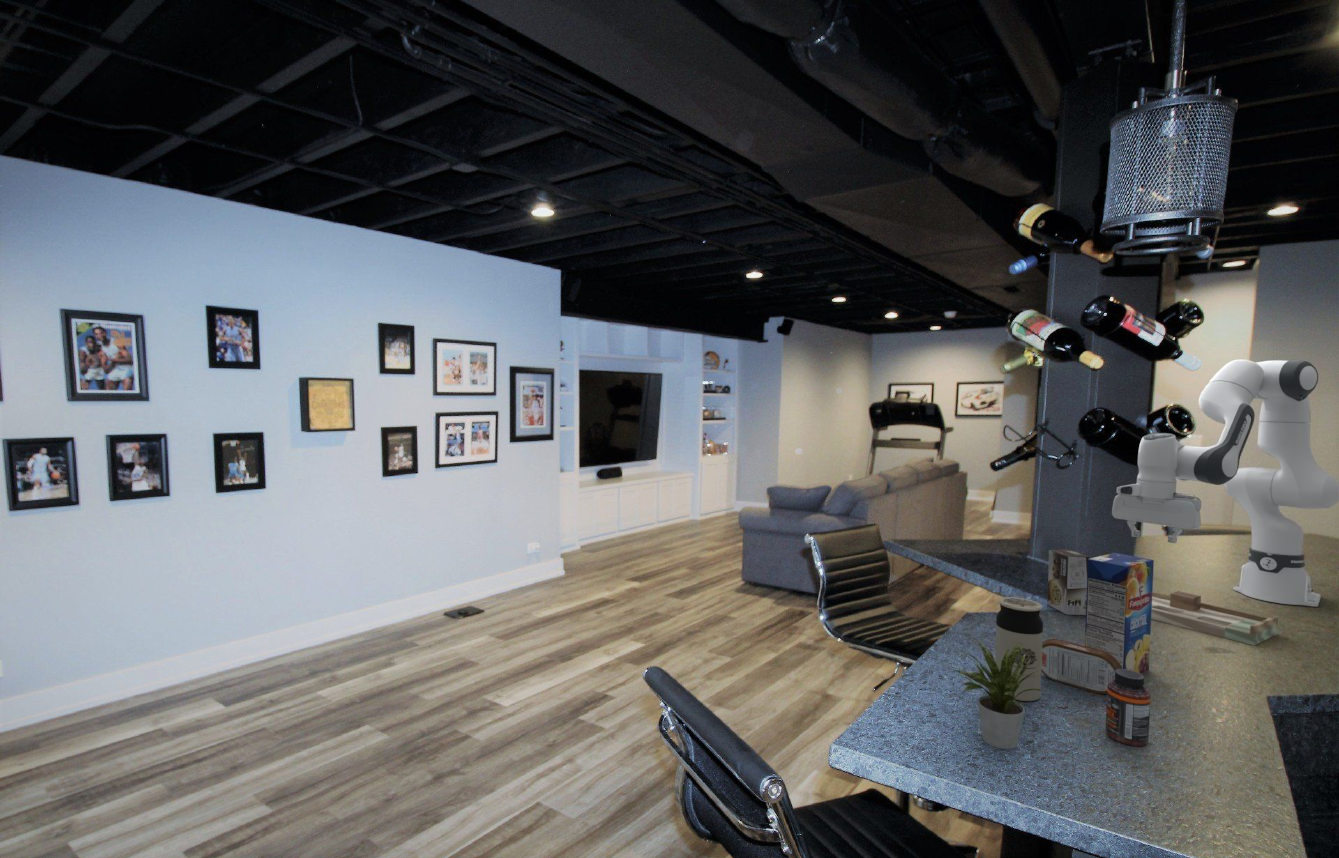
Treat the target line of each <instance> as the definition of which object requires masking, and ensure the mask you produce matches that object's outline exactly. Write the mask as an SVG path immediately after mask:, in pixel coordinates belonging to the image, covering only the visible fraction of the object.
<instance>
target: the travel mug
mask: <svg viewBox="0 0 1339 858" xmlns="http://www.w3.org/2000/svg"><path fill="white" fill-rule="evenodd" d="M998 603H999V606H1000V610H999V611H998V612H997V614H996V616H995V617H996V621H995V623H996V625H995V646H994V647H995V648H994V649H995V650H994V661H995V662H996V664H997V666H998V668H999V671H1000V668H1001V662H1002V659H1003V657H1004V655H1005V653H1006V651H1007V650H1008V649H1009V654H1008V656H1009V655H1010V653H1011V652H1012V650H1013V649H1014V648H1015V647H1016V646H1017V645H1019V644H1021V643H1022V646H1021V647H1020V649H1021V650H1020V651H1019V653H1018V655H1017V657H1016V659H1015V662H1014V664H1013V668H1012V673H1011V676H1012V675H1013V673H1014V671H1015V669H1016V667H1017V666H1018V664H1019V662H1020V660H1021V658H1022V657H1023V655H1024V654H1025V653H1026V655H1025V658H1024V661H1023V664H1022V666H1021V667H1020V669H1019V671H1018V673H1017V674H1019V673H1020V672H1021V670H1022V668H1023V667H1024V665H1025V664H1026V663H1027V662H1028V661H1029V660H1030V659H1031V660H1030V662H1029V664H1028V666H1027V668H1026V670H1025V671H1024V673H1023V674H1022V676H1021V677H1020V679H1019V680H1018V682H1019V681H1020V680H1021V679H1023V678H1024V677H1026V676H1027V675H1029V674H1030V673H1033V672H1035V673H1033V674H1031V675H1030V676H1029V677H1028V678H1026V679H1025V680H1023V681H1022V682H1021V683H1020V685H1019V688H1018V689H1017V690H1016V691H1015V693H1014V698H1015V697H1016V696H1017V695H1018V694H1019V693H1020V692H1022V691H1024V690H1027V689H1034V688H1035V689H1040V690H1042V689H1041V688H1042V672H1041V666H1042V642H1043V636H1044V635H1043V634H1044V622H1043V620H1042V618H1041V616H1040V613H1041V610H1042V609H1043V605H1042V604H1041V603H1039V602H1037V601H1034V600H1031V599H1027V598H1023V597H1015V596H1013V597H1012V596H1006V597H1001V598H999V599H998ZM1038 670H1039V671H1038ZM1036 671H1037V672H1036ZM1018 682H1017V683H1018ZM1041 693H1042V692H1041V691H1038V690H1030V691H1025V692H1023V693H1021V694H1019V695H1018V696H1017V697H1016V698H1015V699H1014V701H1020V702H1032V701H1037V700H1040V698H1041Z"/></svg>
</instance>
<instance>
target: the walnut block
mask: <svg viewBox="0 0 1339 858" xmlns="http://www.w3.org/2000/svg"><path fill="white" fill-rule="evenodd" d="M1201 601H1202V596H1201V595H1199V594H1194V593H1189V592H1185V591H1180V590H1178V591H1173V592H1171V593H1170V606H1171V607H1175V608H1180V609H1184V610H1188V611H1195V610H1198V609H1200V607H1201V603H1202V602H1201Z"/></svg>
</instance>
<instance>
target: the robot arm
mask: <svg viewBox="0 0 1339 858" xmlns="http://www.w3.org/2000/svg"><path fill="white" fill-rule="evenodd" d="M1318 382H1319V372H1318V370H1317V368H1316V367H1315V366H1314V365H1313V364H1312V363H1311V362H1309V361H1306V360H1302V359H1300V360H1299V359H1290V360H1281V359H1279V360H1275V359H1274V360H1264V361H1258V362H1256V361H1253V360H1249V359H1244V358H1243V359H1241V358H1240V359H1234V360H1231V361H1229V362H1228V363H1226V364H1224V366H1222V367H1221V368H1220V369H1219V370H1218V371H1217V372H1216V373H1215V374H1214V376H1213V377H1212V378H1210V380H1209V381H1208V383H1207V385H1205V387H1204V388H1203V390H1202V391H1201V393H1200V394H1199V398H1198V405H1199V409H1200V410H1201V411H1202V413H1203V414H1204V415H1206V416H1207V417H1208V418H1209V419H1210V420H1212V421H1215V422H1216V423H1220V424H1223V425H1224V428H1223V430H1222V432H1221V435H1220V436H1219V438H1218V439H1219V440H1218V441H1217V443H1215V444H1214V445H1210V446H1194V445H1185V444H1184V443H1181V442H1180V441H1178V440H1177V437H1176V435H1175V434H1173V433H1169V432H1168V433H1167V432H1161V433H1160V432H1157V433H1148V434H1146V435H1144V436H1142V438H1141V440H1140V443H1139V447H1138V452H1137V453H1138V454H1137V466H1138V473H1137V477H1136V483H1130V484H1125V485H1120V486H1118V487H1116V494H1117V495H1115V497H1114V499H1113V502H1112V508H1111V515H1112V516H1113V518H1114V519H1119V520H1126V522H1127V524H1126V525H1127V526H1128V528H1129V529H1130V531H1131V533H1130V534H1131V537H1132V538H1133V537H1134V538H1140V537H1141V530H1138V529H1137V527H1136V525H1137V522H1138V523H1145V524H1152V525H1160V526H1164V527H1165V526H1166V527H1172V531H1173V534H1172V535H1167V543H1170V544H1177V542H1178V537H1179V536H1180V535H1181V533H1182V532H1183V529H1186V530H1197V529H1199V528H1200V527H1201V525H1202V521H1201V519H1202V518H1201V509H1202V500H1201V499H1200V498H1198V496H1196V495H1194V494H1185V493H1178V492H1177V479H1178V480H1179V479H1180V480H1185V481H1192V482H1201V483H1205V484H1210V485H1216V486H1220V485H1223V487H1224V489H1225V493H1226V494H1227V495H1228V496H1229V497H1230V498H1232V499H1233V500H1234V501H1235V502H1237V503H1238V504H1239V505H1240V506H1241V508H1243V510H1244V511H1245V513H1246V515H1247V517H1248V520H1249V524H1250V529H1251V530H1250V531H1251V532H1250V535H1251V543H1250V545H1251V547H1250V548H1249V549H1248V562H1246V563H1244V564H1243V565H1242V566H1241V572H1240V579H1239V585H1236V586H1233V589H1232V590H1233V591H1236V592H1239V593H1241V594H1242V595H1245V596H1247V597H1249V598H1252V599H1256V600H1260V601H1266V602H1270V603H1277V604H1283V605H1293V606H1305V607H1319V604H1320V601H1321V593H1318V592H1313V591H1314V589H1313V588H1311V587H1312V586H1311V585H1312V582H1311V581H1312V578H1311V576H1310V575H1309V572H1308V571H1307V570H1306V569H1305V566H1306V564H1305V562H1306V553H1303V547H1304V530H1303V528H1302V526H1301V525H1299V523H1297V522H1296V521H1294V520H1293V519H1291V518H1288V517H1286V516H1285V515H1284V514H1283V513H1282V512H1281V510H1280V508H1279V507H1288V508H1298V509H1307V510H1309V509H1311V510H1313V509H1315V510H1317V509H1320V510H1321V509H1330V508H1332V507H1333V506H1335V505H1336V504H1337V503H1338V502H1339V481H1338V480H1337V478H1335V476H1333V475H1331V474H1330V473H1328V472H1327V471H1326V470H1324V469H1323V468H1322V467H1321V466H1320V465H1319V464H1318V462H1317V461H1316V459H1315V458H1314V456H1313V452H1312V450H1311V449H1312V448H1311V421H1312V420H1311V419H1312V417H1311V415H1312V414H1311V413H1312V412H1311V403H1310V396H1309V395H1310V394H1312V392H1313V391H1314V390H1315V389H1316V387H1317V385H1318ZM1254 399H1256V400H1257V399H1259V400H1262V402H1261V404H1260V406H1261V407H1260V411H1259V417H1258V429H1257V442H1256V443H1257V446H1258V448H1259V450H1260V451H1262V453H1264V454H1266V455H1268V456H1271V457H1273V458H1275V459H1276V460H1277V461H1278V462H1279V464H1280V468H1268V467H1257V466H1256V467H1255V466H1249V467H1248V466H1247V467H1240V466H1239V465H1240V460H1241V456H1242V453H1243V452H1244V449H1245V446H1246V443H1247V441H1248V440H1249V436H1250V435H1251V430H1252V429H1253V425H1254V423H1255V411H1254V408H1253V407H1252V406H1251V404H1252V402H1253V401H1254Z"/></svg>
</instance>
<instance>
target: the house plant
mask: <svg viewBox="0 0 1339 858" xmlns="http://www.w3.org/2000/svg"><path fill="white" fill-rule="evenodd" d="M972 640H974V642H976V644H977V645H978V646H979V648H980V649H981V651H982V653H983V656H984V659H985V662H986V664H987V665H988V668H989V669H988V668H987V667H986V666H984V665H983V664H982V662H980V660H979V659H977V658H976V657H975V656H974V655H972V654H970V653H969V652H966V651H963V650H958V649H954V648H952V650H953V651H954V650H955V651H958V652H960V653H962V654H963V653H964V654H965V655H964V657H965V658H968V659H970V660H972V659H971V658H973V659H974V661H973V664H974V667H976V669H977V670H978V671H973V672H968V671H965V670H957V669H954V671H955V672H956V673H958V674H959V675H958V674H957V676H958V677H962V678H964V679H967V680H968V681H966V682H964V683H962V684H961V686H959V687H962V686H966V687H965V689H964V690H963V693H965V691H970V690H977V689H979V690H980V691H981V692H982V693H983V694H984V695H980V696H979V697H977V700H976V701H977V707H978V708H977V709H978V715H979V724H980V731H981V739H982V740H983V741H984V742H985V743H986V744H988V745H990V746H992V747H994V748H997V749H1002V750H1012V749H1015V748H1017V745H1018V741H1019V737H1020V732H1021V728H1022V724H1023V720H1024V716H1025V712H1026V710H1025V707H1024V706H1023V705H1022V703H1021V701H1020V702H1018V701H1017V700H1014V699H1015V698H1016V697H1017V696H1018V695H1019V694H1021V693H1023V692H1025V691H1030V690H1038V691H1041V693H1044V694H1045V692H1044V691H1043V690H1042V689H1041V690H1040V689H1035V688H1034V689H1027V690H1024V691H1022V692H1020V693H1019V694H1018V695H1017V696H1016V697H1015V698H1014V693H1015V691H1016V690H1017V689H1018V688H1019V685H1020V683H1021V682H1022V681H1023V680H1025V679H1026V678H1028V677H1029V676H1030V675H1031V674H1033V673H1035V672H1033V673H1030V674H1029V675H1027V676H1026V677H1024V678H1023V679H1021V680H1020V681H1019V682H1018V680H1019V679H1020V677H1021V676H1022V674H1023V673H1024V671H1025V670H1026V668H1027V666H1028V664H1029V662H1030V660H1031V659H1030V660H1029V661H1028V662H1027V663H1026V664H1025V665H1024V667H1023V668H1022V670H1021V672H1020V673H1019V674H1017V673H1018V671H1019V669H1020V667H1021V666H1022V664H1023V661H1024V658H1025V655H1026V653H1025V654H1024V655H1023V657H1022V658H1021V660H1020V662H1019V664H1018V666H1017V667H1016V669H1015V671H1014V673H1013V675H1012V676H1011V673H1012V668H1013V664H1014V662H1015V659H1016V657H1017V655H1018V653H1019V651H1020V650H1021V649H1020V647H1021V646H1022V643H1021V644H1019V645H1017V646H1016V647H1015V648H1014V649H1013V650H1012V652H1011V653H1010V655H1009V656H1008V654H1009V649H1008V650H1007V651H1006V653H1005V655H1004V657H1003V659H1002V662H1001V668H1000V671H999V668H998V666H997V664H996V662H995V657H994V655H993V654H992V652H991V651H990V650H989V649H988V648H986V647H985V646H984V645H983V644H981V643H980V642H979V641H978V640H976V639H974V638H972ZM962 654H960V655H961V656H962V657H963V655H962ZM966 655H967V656H966ZM970 657H971V658H970ZM1038 671H1039V670H1038ZM1036 672H1037V671H1036ZM985 674H986V675H985ZM987 677H988V678H987ZM975 682H976V683H975ZM1017 682H1018V683H1017ZM983 686H984V687H983ZM985 688H986V689H985ZM982 689H983V690H982ZM984 691H985V693H984ZM986 693H987V694H986ZM1045 695H1046V694H1045Z"/></svg>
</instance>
